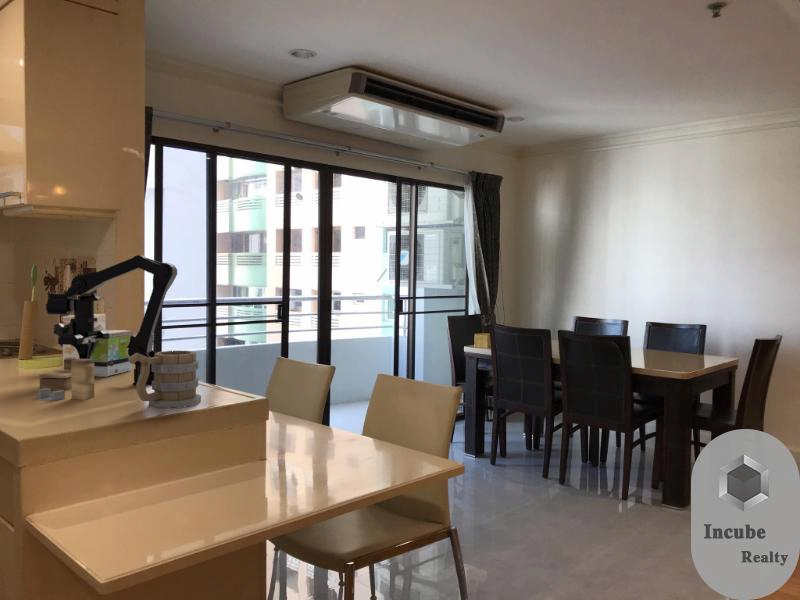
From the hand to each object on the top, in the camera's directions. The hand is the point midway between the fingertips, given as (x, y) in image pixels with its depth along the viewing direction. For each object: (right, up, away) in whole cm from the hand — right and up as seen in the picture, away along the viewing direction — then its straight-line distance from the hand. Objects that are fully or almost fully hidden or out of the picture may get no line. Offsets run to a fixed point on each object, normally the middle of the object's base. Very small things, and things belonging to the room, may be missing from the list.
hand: (84, 364), depth 205 cm
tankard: (+36, -8, -29) cm, 47 cm away
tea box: (-2, -6, +22) cm, 22 cm away
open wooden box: (-1, -7, -9) cm, 11 cm away
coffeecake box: (-15, -5, +32) cm, 36 cm away
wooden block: (+12, -8, -26) cm, 30 cm away
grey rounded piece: (+4, -8, -27) cm, 28 cm away
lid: (-1, -2, -9) cm, 10 cm away
